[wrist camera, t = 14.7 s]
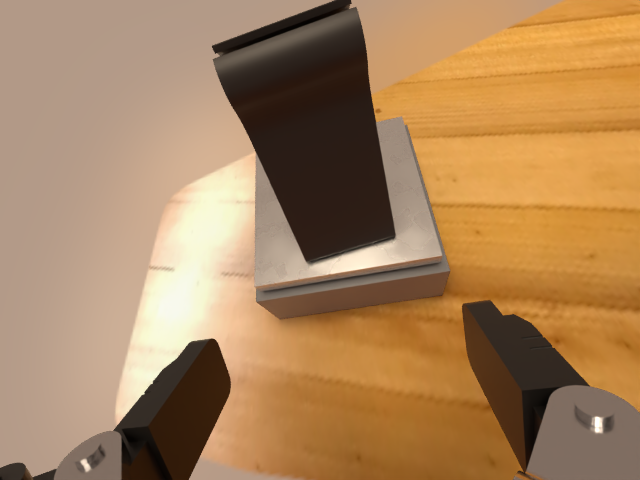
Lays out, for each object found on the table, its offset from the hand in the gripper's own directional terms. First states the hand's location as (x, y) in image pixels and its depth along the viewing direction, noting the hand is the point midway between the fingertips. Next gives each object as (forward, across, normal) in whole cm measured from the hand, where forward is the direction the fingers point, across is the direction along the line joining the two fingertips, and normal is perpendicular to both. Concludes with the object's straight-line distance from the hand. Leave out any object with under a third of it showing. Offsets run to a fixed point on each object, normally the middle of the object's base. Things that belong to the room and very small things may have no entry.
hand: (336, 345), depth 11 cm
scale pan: (+15, 0, -2) cm, 15 cm away
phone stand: (+14, 0, -2) cm, 15 cm away
